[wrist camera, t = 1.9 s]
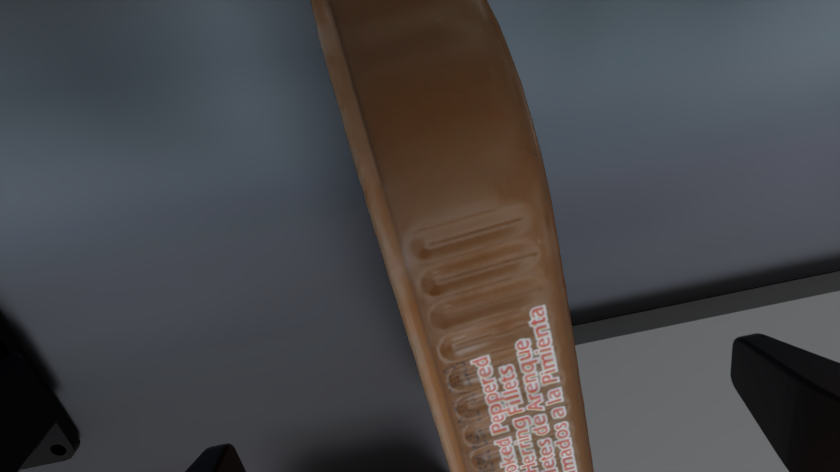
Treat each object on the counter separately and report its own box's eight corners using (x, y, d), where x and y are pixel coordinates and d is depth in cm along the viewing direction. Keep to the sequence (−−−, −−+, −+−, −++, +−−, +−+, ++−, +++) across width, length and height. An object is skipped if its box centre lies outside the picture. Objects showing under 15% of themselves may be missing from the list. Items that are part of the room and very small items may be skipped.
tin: (315, -18, 13) (225, -44, 5) (436, -51, 13) (525, -128, 5) (445, 419, 19) (491, 695, 12) (528, 399, 19) (628, 664, 11)
